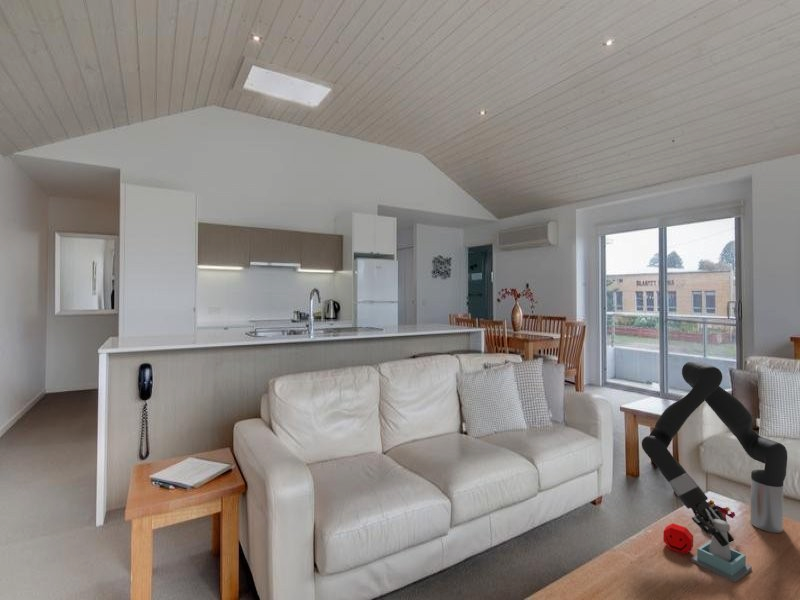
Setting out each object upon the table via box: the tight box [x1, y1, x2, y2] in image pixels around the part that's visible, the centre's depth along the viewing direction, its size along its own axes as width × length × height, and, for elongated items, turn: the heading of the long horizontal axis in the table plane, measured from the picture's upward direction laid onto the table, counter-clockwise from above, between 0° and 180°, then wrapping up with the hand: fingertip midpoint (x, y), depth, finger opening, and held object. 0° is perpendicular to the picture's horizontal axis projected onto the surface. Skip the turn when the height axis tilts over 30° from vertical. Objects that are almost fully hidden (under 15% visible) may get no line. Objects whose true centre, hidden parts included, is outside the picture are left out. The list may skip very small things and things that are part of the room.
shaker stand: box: [691, 539, 753, 583], centre depth 135 cm, size 12×12×4 cm
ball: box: [662, 523, 694, 555], centre depth 144 cm, size 8×8×8 cm
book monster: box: [705, 499, 736, 529], centre depth 156 cm, size 11×9×12 cm
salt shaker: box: [709, 519, 731, 562], centre depth 135 cm, size 6×6×13 cm
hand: (728, 543), depth 134 cm, fingers open, 3 cm apart
